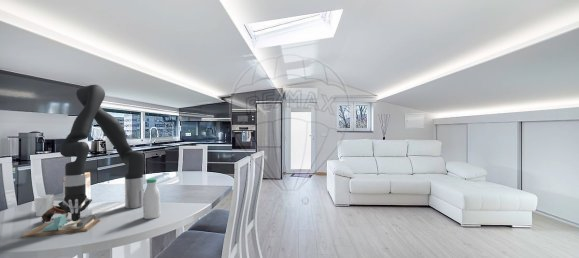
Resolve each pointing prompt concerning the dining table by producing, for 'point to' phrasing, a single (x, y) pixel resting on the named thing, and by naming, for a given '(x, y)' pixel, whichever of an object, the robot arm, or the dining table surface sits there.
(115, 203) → the dining table surface
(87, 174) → the coffeecake box
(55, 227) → the stub
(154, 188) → the milk bottle
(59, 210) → the pottery mug
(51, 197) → the white cup
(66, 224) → the ticket holder
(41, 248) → the dining table surface
